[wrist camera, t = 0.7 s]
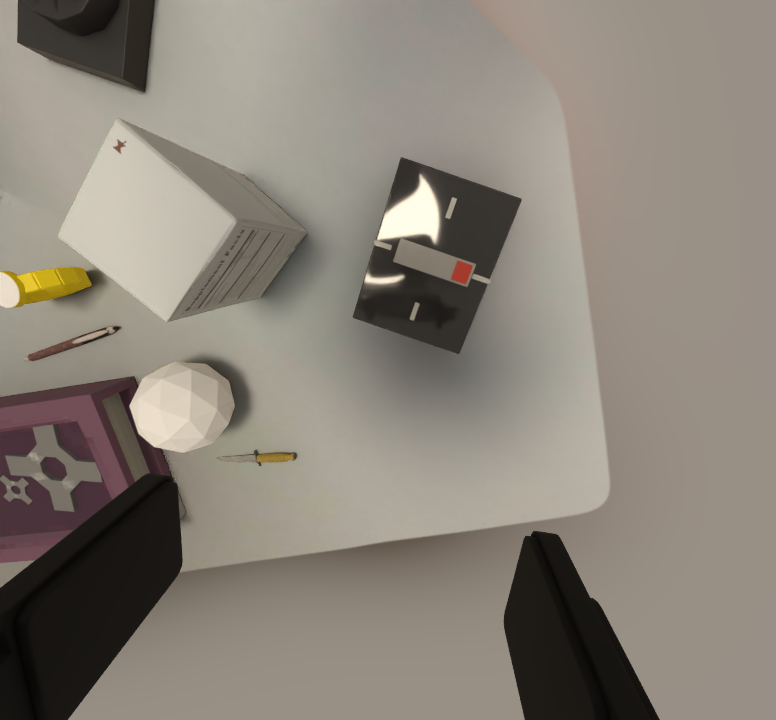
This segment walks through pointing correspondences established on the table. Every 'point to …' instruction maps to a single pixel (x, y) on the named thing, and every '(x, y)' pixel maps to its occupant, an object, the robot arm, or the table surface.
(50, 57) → the black button base
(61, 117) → the table surface
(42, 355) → the pen
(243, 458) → the dagger
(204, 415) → the ball
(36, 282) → the watch
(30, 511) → the book
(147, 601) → the robot arm
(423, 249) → the box with red button
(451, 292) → the panel
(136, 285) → the white packaging box
